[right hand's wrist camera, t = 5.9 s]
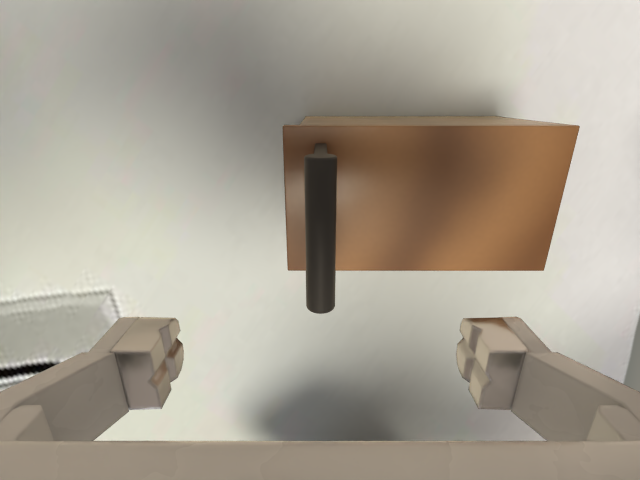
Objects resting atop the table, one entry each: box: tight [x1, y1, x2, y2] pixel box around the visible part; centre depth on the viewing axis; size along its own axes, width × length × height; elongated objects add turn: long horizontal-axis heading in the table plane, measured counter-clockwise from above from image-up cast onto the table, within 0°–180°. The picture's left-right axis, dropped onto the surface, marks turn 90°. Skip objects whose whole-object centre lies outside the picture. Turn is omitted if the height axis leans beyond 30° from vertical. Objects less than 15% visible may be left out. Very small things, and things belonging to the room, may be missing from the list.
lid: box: [283, 125, 580, 314], centre depth 21 cm, size 18×10×8 cm, turn 90°
